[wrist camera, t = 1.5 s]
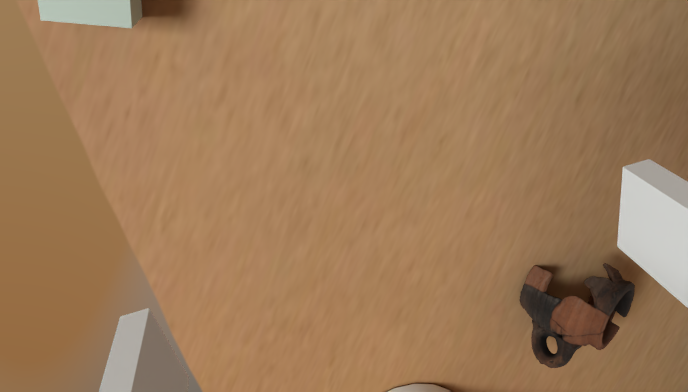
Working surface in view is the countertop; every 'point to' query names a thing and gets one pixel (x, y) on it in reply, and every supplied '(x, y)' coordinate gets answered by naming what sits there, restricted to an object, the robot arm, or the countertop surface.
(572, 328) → the grey brown irregular piece
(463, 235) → the countertop surface
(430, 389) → the bottle
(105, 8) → the grey-green painted block
